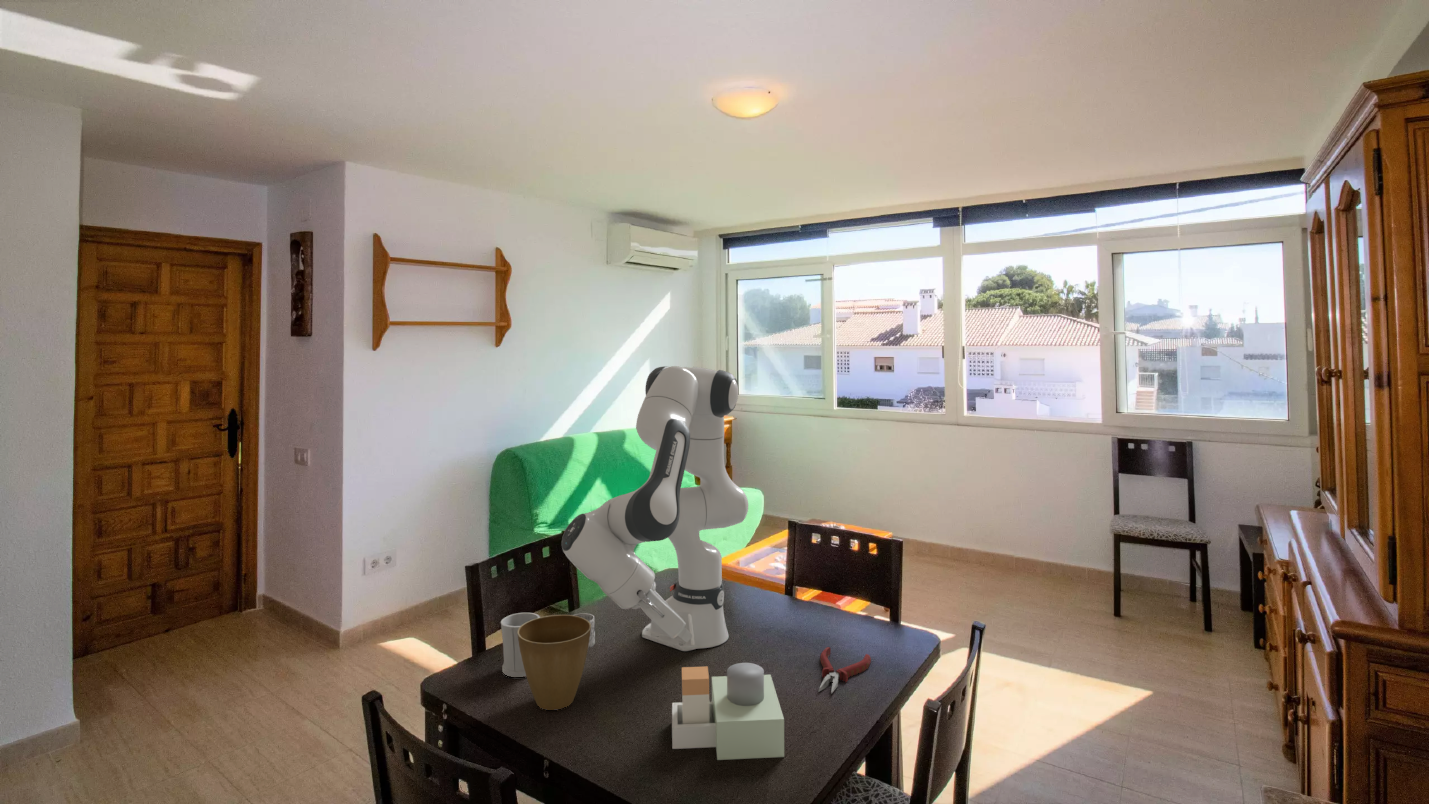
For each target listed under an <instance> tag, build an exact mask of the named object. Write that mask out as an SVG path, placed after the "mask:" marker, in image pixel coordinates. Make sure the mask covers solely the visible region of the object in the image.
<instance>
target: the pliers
mask: <svg viewBox="0 0 1429 804" xmlns="http://www.w3.org/2000/svg"><path fill="white" fill-rule="evenodd" d="M831 651H832V650H831V647H829V646H828V647H825V648H824V649H823V650H822V652H821V653H820V656H819V661H820V664H821V666H822V670H821V677H822V682H821V684H820V686H819V688H818V691H817V692H818V693H819V692H822V691H823V690H825V689H827V688H828V687H829V685H830V682H833V683H831V691H830V695H832V694H833V693H834V691H835V690H837V688H838V685H839V682H840V681H839V680H841V681H842V680H843V681H842V682H844V681H845V682H844V683H847V681H849V678H851V677H853V675H854V676H856V675H858V673H859V674H861V673H863V672H865V671H866V669H867V670H868V669H869V667H870V665H871V663H872V658H871V656H870V654H868V653H866V654H865V655H864V657H863V659H862V660H860V661H858V662H855V663H852V664H850V665H847V666H845V667H842V668H837V669H836V670H834V667H833V665H832V663H831V662H830V660H829V657H830V656H831ZM850 676H851V677H850Z"/></svg>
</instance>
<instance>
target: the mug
mask: <svg viewBox="0 0 1429 804" xmlns="http://www.w3.org/2000/svg"><path fill="white" fill-rule="evenodd" d="M572 615H573V616H578V617H582V618H584V619H586V620H588V621H589V622H590V624H591V632H590V639H589V645H588V649H590V648H592V647H594V645H595V644H596V632H595V630H596V629H595V628H596V627H595V615H593V614H591V613H584V612H583V613H582V612H581V613H576V614H572ZM589 647H590V648H589Z"/></svg>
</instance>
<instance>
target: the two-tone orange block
mask: <svg viewBox="0 0 1429 804" xmlns="http://www.w3.org/2000/svg"><path fill="white" fill-rule="evenodd" d="M681 697H682V699H681V701H682V716H683V724H705V723H710V717H709V701H710V674H709V666H707V665H706V666H686V667H685V666H683V667H681Z"/></svg>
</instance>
